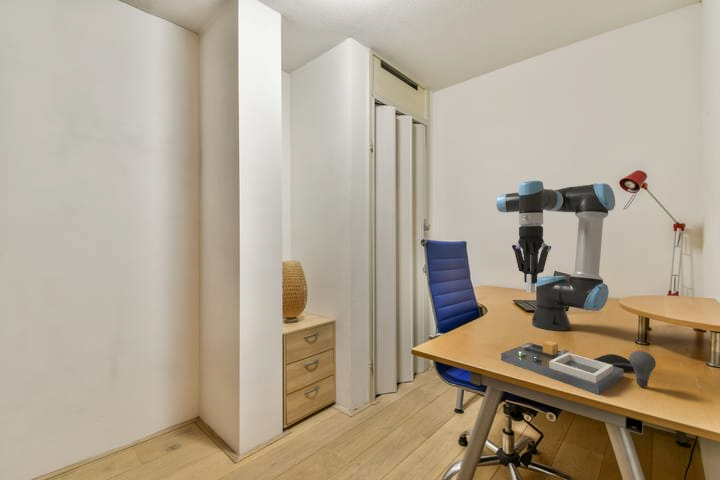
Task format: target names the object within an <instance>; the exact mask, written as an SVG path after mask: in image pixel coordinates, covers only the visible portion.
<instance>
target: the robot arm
mask: <svg viewBox="0 0 720 480" xmlns="http://www.w3.org/2000/svg"><path fill="white" fill-rule="evenodd" d="M495 203H496V204H495V206H496V209H497V211H498V212H500V213H517V212H518V225H519V227H518V237H519V238H518V240H517V243H516V244H512V245H511V248H512V250H513V251H514V255H515V259H516V264H517V268H518V271H519V272H521V273H523V275H524V276H523V277H524V278H523V279H524V283H526V293H527V294H534V293H535V296H536V297H535V303H536V304H535V310H534V312H533V315H532V318H531V325H532V326H534V327H535V328H539V329H543V330H548V331H558V332H562V331H568V330H570V329H571V322H570V320H569V317H568V314H567V312H566V307H567V308H574V309H579V310H581V309H582V310H585V311H591V312H592V311H593V312H594V311H595V312H599V311H601V310H602V309H603V308H604V307H605V305H606V303H607V301H608V297H609V292H610V290H609V286H608V285H607V284H605V283H604V279H603V278H602V277H601V276H600V267H601V255H602V239H603V230H604V229H603V225H604V219H606V218H607V217H608V216H609V212H610V211H613V210H614V209H615V207H616V197H615V193H614V191H613V188H612V186H610V185H609V184H608V183H593V184H592V183H591V184H585V185H577V186H567V187H564V188H559V189H552V188H551V189H550V188H549V189H547V188H544V183H543V181H541V180H527V181H522V182H520V184H519V188H518V192H512V193H503V194H499V196H497V199H496V201H495ZM544 211H546V212H561V213H574V216H575V217H577V219H578V223H577V225H578V227H577V237H576V249H575V261H574V262H575V263H574V272H572V274H570V276H569V279H567V277H566V276H565V275H550V276H549V275H548V276H540V277H538V275H539V274H542V273H543V272H544V269H545V267H546V262H547V258H548V255H549V253H550V251H551V249H552V245H548V244H547V243H546V242H545V240H544V238H543V237H544V227H543V226H542V225H543V224H544ZM540 250H541V251H540ZM539 251H540V252H539ZM539 254H540V255H539Z"/></svg>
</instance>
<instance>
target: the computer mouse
mask: <svg viewBox="0 0 720 480" xmlns="http://www.w3.org/2000/svg"><path fill="white" fill-rule="evenodd" d="M592 360H596V361H600V362H603V363H607V364H610V365H613V366H614V367H618V368H622V369H624V373H635V371H634V369H633V367H632V365H631V364H630V361H629V358H628V359H627V358H625V357H623V356H622V355H619V354H614V353H613V354H611V353H609V354H604V355H601V356H599V357H596V358H593V359H592Z"/></svg>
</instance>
